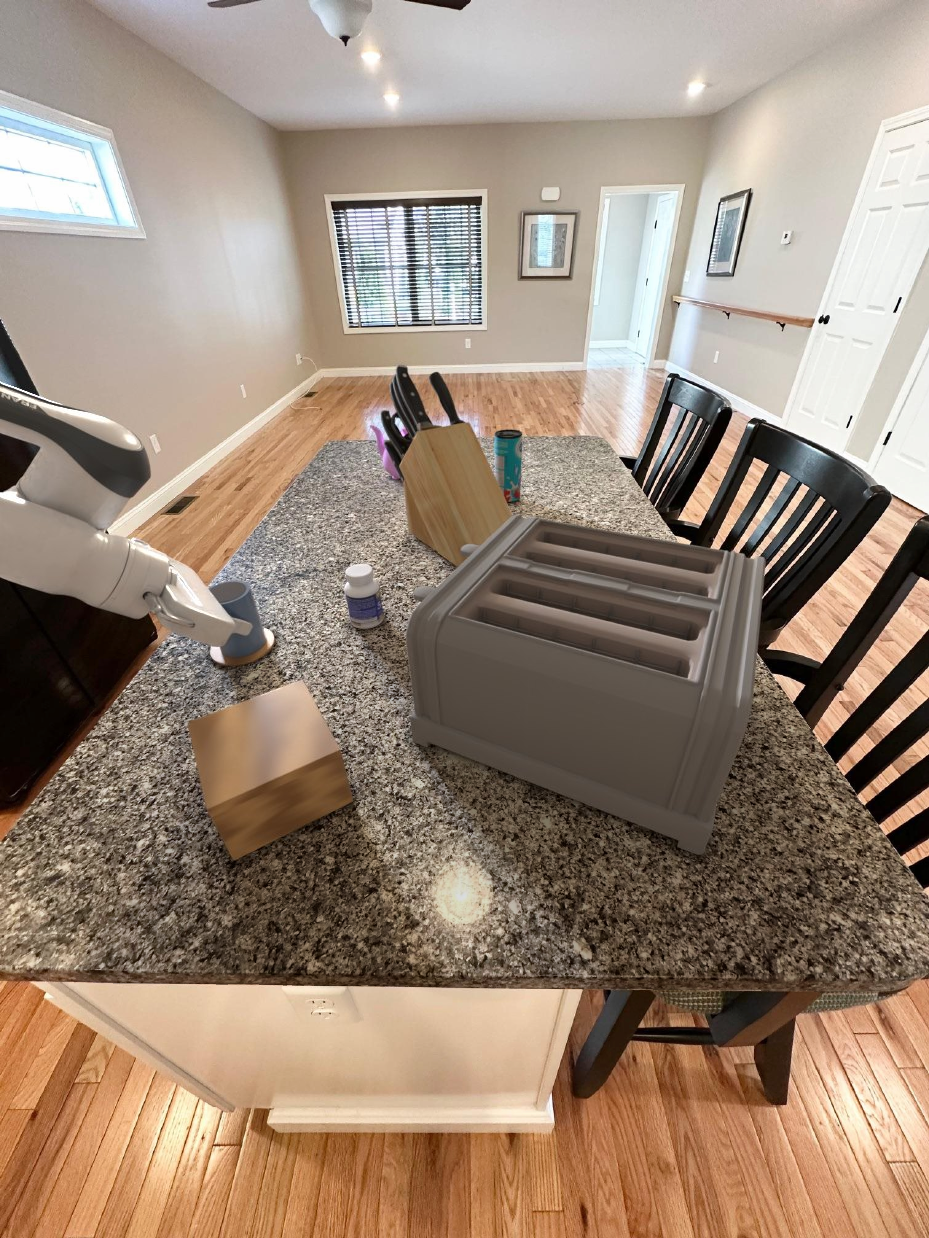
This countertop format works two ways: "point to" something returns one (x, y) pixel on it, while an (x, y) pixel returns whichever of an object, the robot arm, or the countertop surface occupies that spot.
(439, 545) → the knife block
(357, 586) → the pill bottle
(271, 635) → the coaster
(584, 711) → the toaster
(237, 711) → the wood block
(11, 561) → the robot arm
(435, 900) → the countertop surface
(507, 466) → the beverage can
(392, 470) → the teapot
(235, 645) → the cup
